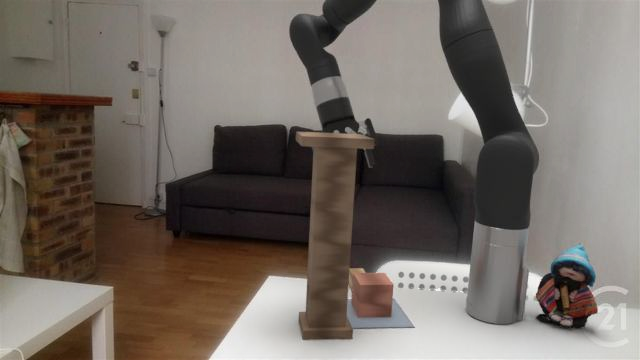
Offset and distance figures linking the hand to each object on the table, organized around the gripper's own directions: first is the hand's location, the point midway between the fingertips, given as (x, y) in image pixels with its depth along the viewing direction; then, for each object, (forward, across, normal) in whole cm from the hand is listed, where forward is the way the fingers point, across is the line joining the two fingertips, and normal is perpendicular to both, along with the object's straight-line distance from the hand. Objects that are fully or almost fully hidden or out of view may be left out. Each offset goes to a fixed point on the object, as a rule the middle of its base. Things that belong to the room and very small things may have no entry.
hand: (352, 172), depth 107 cm
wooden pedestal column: (+25, -15, -21) cm, 36 cm away
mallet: (+25, -6, -10) cm, 27 cm away
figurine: (+38, +26, -18) cm, 49 cm away
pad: (+27, -6, -16) cm, 32 cm away
